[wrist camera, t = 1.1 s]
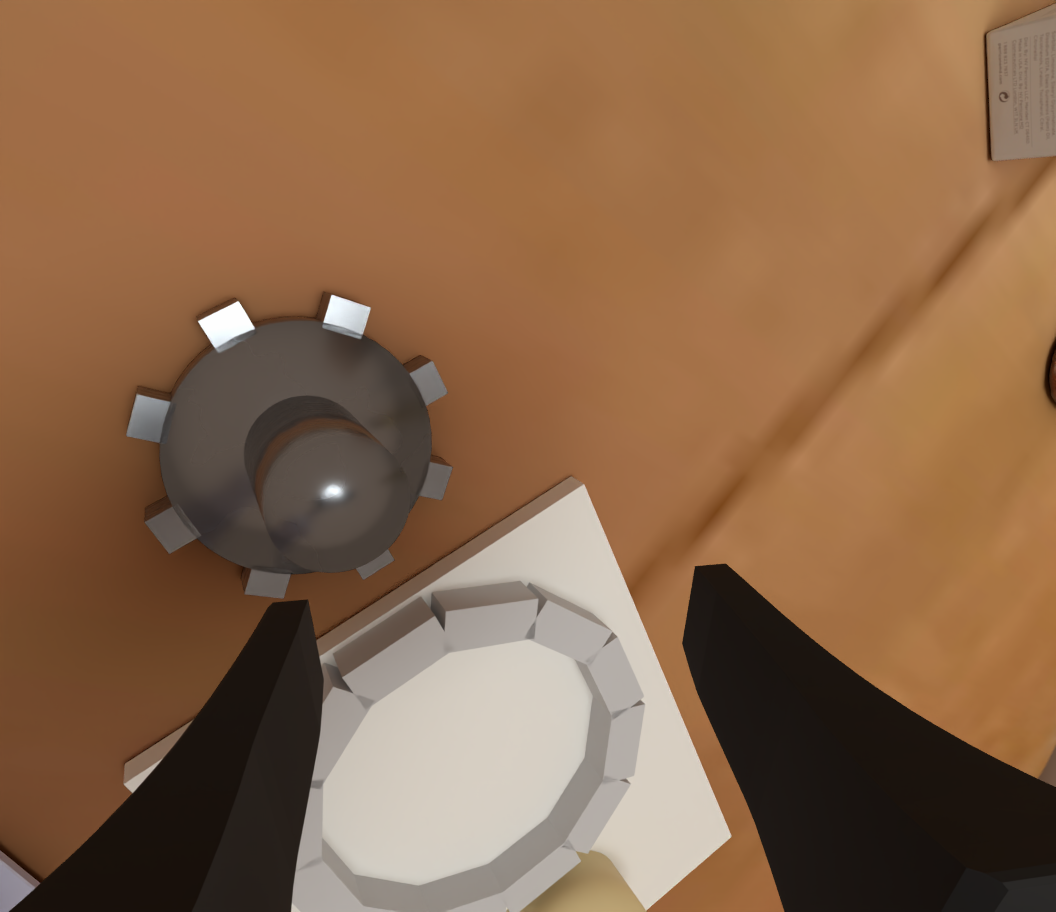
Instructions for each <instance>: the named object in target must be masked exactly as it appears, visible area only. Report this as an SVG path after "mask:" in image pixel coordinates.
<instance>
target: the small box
mask: <svg viewBox="0 0 1056 912" xmlns="http://www.w3.org/2000/svg"><path fill="white" fill-rule="evenodd" d="M986 43H987V64H988V88H989V112H990V137H991V157H992V160H993V161H1004V160H1014V159H1027V158H1040V157H1051V156H1056V3H1055V4H1053V5H1051V6H1048V7H1046V8H1044V9H1041V10H1039V11H1037V12H1034V13H1032V14H1030V15H1027V16H1025V17H1023V18H1021V19H1018V20H1016V21H1014V22H1011V23H1009V24H1007V25H1004V26H1002V27H1000V28H997V29H994V30H992V31H990V32H988V33H987V35H986Z"/></svg>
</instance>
